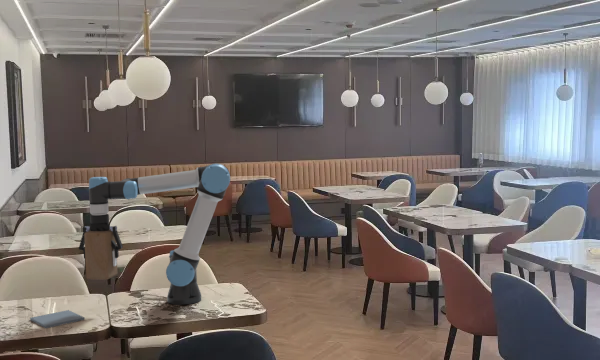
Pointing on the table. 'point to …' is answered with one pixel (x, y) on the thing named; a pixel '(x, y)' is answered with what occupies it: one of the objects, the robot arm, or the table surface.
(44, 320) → the slate plate
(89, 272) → the wooden block
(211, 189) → the robot arm
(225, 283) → the table surface
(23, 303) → the table surface
